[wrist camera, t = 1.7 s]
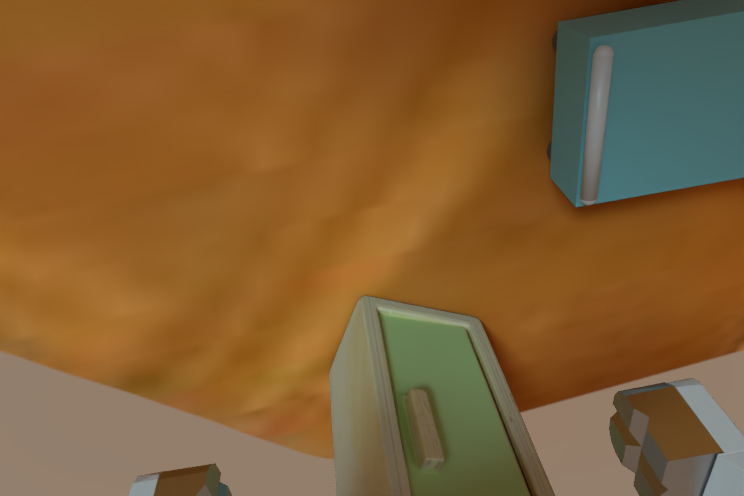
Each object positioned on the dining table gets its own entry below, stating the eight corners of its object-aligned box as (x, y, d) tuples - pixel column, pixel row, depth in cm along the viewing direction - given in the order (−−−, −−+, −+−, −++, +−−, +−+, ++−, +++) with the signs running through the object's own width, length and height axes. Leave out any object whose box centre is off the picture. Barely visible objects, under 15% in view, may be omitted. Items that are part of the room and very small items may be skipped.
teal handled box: (546, 15, 23) (598, 42, 19) (773, -24, 23) (874, -7, 19) (540, 166, 27) (581, 214, 23) (732, 132, 27) (809, 174, 23)
